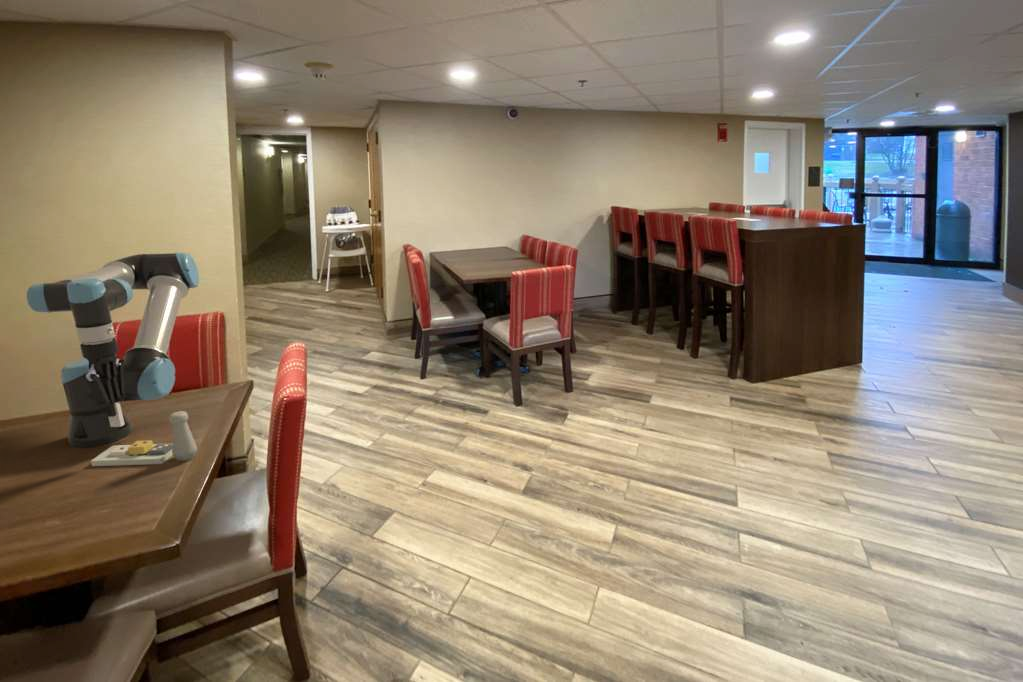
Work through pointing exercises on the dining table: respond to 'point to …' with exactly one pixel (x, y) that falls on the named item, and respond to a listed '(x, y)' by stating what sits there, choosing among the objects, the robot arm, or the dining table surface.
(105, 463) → the tile board
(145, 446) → the tile
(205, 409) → the dining table surface
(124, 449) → the tile
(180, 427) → the salt shaker
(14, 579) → the dining table surface
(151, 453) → the tile
